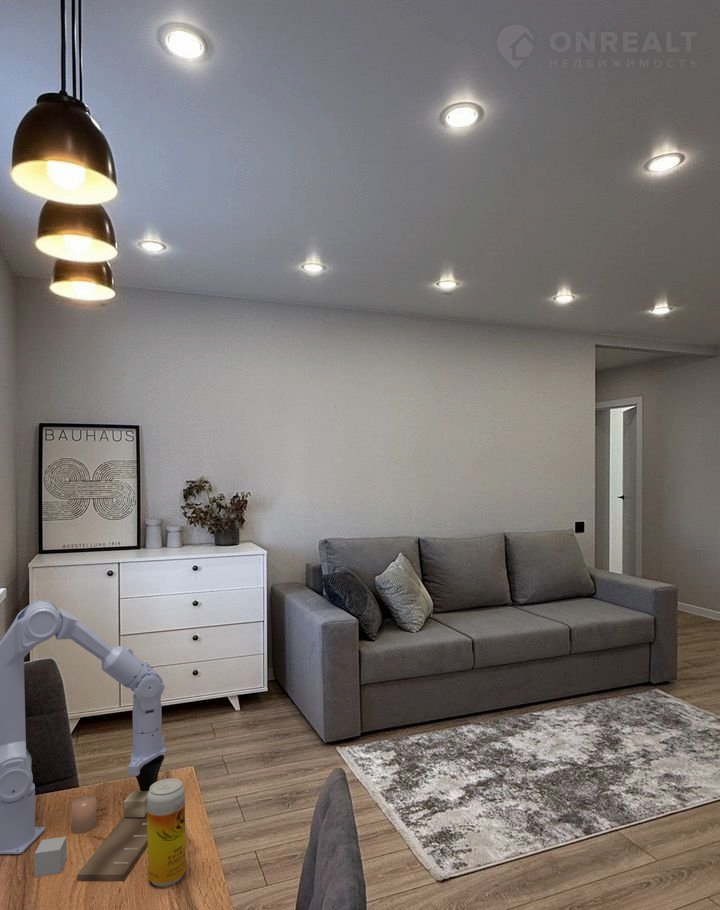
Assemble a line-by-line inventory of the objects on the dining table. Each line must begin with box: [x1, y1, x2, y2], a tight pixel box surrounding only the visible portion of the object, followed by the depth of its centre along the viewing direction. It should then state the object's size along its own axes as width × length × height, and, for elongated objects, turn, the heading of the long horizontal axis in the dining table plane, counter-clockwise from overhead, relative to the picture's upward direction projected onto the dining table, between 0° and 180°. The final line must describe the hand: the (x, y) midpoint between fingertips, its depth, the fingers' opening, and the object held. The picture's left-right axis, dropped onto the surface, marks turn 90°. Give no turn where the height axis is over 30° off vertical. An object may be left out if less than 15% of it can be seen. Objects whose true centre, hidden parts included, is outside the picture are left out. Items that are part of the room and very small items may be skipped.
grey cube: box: [34, 836, 67, 878], centre depth 106 cm, size 4×4×4 cm
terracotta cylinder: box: [70, 794, 97, 835], centre depth 118 cm, size 4×4×5 cm
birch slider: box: [123, 790, 149, 817], centre depth 121 cm, size 6×4×3 cm
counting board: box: [76, 814, 148, 882], centre depth 113 cm, size 8×22×1 cm, turn 177°
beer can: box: [147, 777, 187, 888], centre depth 103 cm, size 6×6×15 cm
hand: (148, 795), depth 126 cm, fingers closed
